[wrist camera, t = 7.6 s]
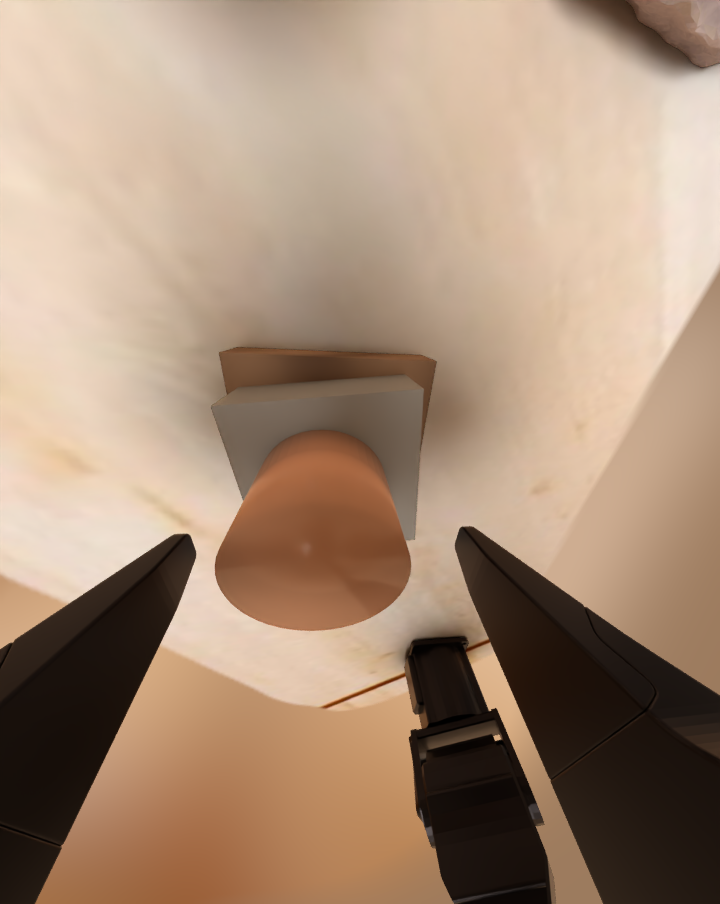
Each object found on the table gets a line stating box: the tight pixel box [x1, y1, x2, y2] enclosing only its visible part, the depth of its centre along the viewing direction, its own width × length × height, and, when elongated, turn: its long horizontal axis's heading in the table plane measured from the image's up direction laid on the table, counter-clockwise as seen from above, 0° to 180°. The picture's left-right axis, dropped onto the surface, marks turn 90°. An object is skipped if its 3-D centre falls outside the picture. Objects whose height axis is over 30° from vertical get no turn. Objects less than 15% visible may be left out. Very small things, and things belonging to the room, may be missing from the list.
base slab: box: [219, 347, 436, 450], centre depth 15 cm, size 10×10×3 cm
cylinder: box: [215, 430, 411, 631], centre depth 9 cm, size 6×6×4 cm
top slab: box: [211, 374, 424, 540], centre depth 13 cm, size 8×8×3 cm
